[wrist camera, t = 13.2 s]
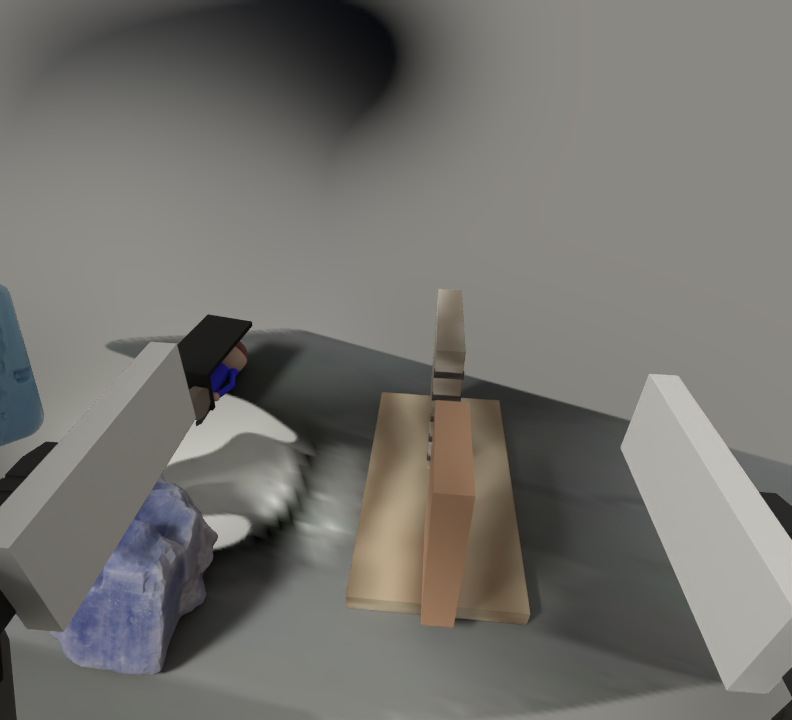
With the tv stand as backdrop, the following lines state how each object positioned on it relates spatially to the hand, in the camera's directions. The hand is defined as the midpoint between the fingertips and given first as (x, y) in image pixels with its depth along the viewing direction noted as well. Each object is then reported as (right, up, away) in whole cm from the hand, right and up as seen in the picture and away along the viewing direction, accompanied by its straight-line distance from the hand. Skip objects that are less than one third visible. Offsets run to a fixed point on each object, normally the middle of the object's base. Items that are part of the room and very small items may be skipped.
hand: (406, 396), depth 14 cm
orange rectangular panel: (+3, -16, +25) cm, 30 cm away
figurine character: (-23, -4, +47) cm, 52 cm away
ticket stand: (+4, -12, +35) cm, 37 cm away
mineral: (-20, -17, +26) cm, 37 cm away
